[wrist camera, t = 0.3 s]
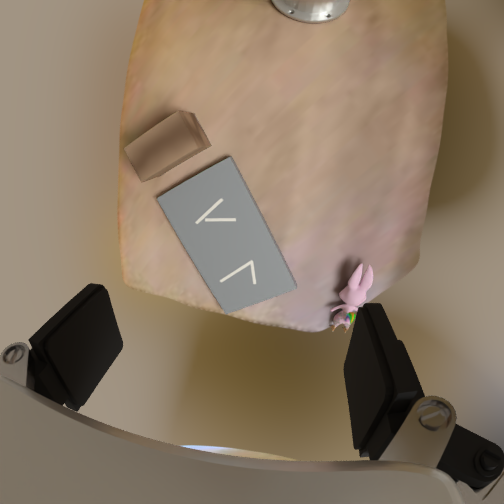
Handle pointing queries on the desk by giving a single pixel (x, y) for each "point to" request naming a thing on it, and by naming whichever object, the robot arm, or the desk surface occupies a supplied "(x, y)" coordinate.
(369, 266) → the pink plastic figure
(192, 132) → the block
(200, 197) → the slate board
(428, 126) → the desk surface
